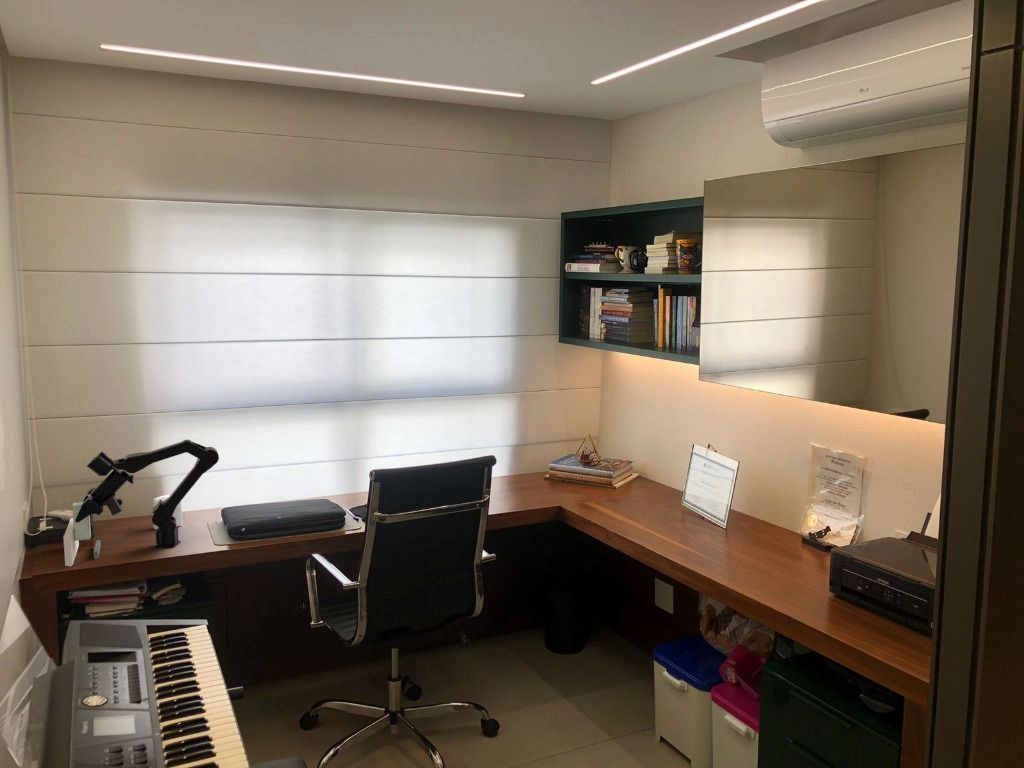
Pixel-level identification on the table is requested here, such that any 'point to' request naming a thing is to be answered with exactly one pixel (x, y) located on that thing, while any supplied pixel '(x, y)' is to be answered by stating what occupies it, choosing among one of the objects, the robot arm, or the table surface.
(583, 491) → the table surface
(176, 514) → the photo printer
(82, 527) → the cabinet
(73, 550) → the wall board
